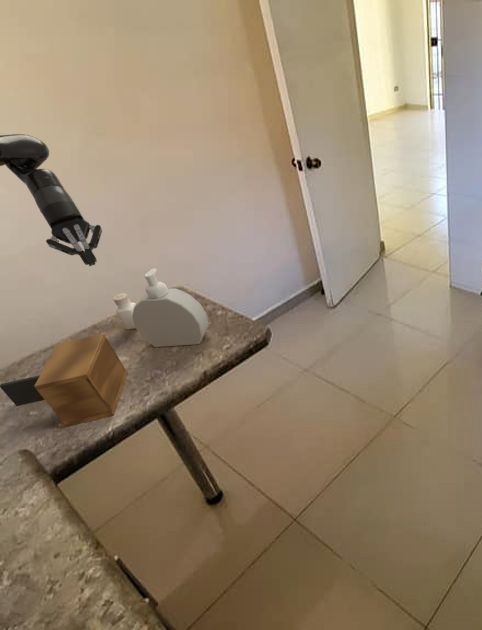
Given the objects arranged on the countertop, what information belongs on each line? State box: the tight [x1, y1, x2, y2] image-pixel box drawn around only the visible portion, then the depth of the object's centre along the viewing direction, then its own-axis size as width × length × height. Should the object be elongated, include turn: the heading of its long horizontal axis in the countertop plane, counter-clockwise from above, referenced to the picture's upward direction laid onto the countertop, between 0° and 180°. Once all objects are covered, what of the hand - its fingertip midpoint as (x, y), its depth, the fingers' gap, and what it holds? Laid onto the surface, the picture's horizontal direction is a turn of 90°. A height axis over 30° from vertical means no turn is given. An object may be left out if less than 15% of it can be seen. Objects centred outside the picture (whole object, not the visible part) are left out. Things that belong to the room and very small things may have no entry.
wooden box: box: [34, 333, 128, 429], centre depth 94 cm, size 10×14×12 cm
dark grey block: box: [0, 374, 45, 407], centre depth 90 cm, size 10×7×9 cm
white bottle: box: [112, 292, 137, 330], centre depth 117 cm, size 4×4×10 cm
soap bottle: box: [132, 267, 210, 348], centre depth 107 cm, size 16×5×20 cm, turn 93°
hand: (92, 264), depth 114 cm, fingers closed
